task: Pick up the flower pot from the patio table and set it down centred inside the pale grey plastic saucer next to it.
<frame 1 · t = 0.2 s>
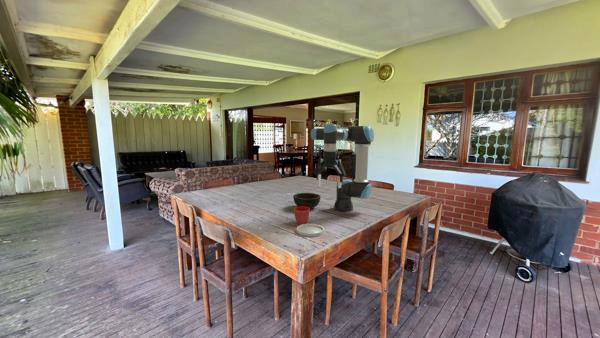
hand: (329, 186, 156), 28 cm above the table, tool pointing down, fingers open, 13 cm apart
saucer: (310, 231, 158), on the table
flower pot: (301, 222, 174), on the table
bowl: (306, 208, 208), on the table
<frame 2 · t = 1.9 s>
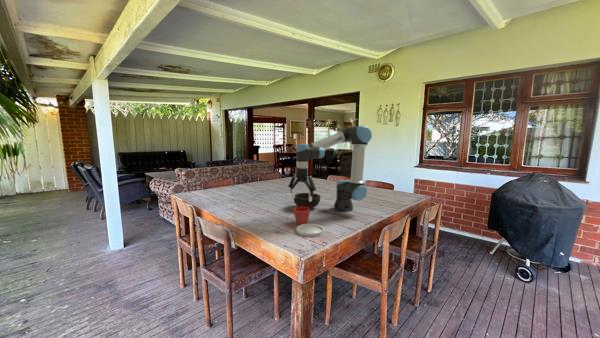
hand: (301, 199, 172), 16 cm above the table, tool pointing down, fingers open, 13 cm apart
nothing on the table moved.
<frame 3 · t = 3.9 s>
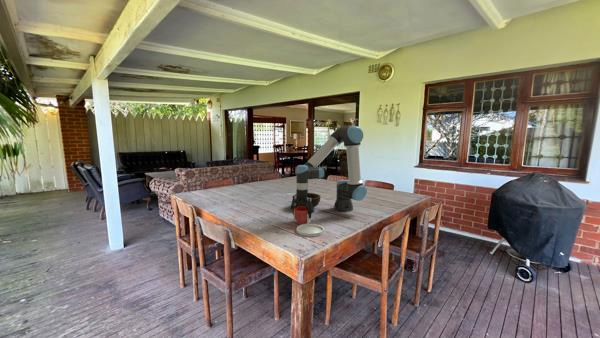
hand: (301, 221, 174), 1 cm above the table, tool pointing down, fingers closed on flower pot, 10 cm apart
flower pot: (301, 222, 174), on the table, touching gripper
everything else where it was.
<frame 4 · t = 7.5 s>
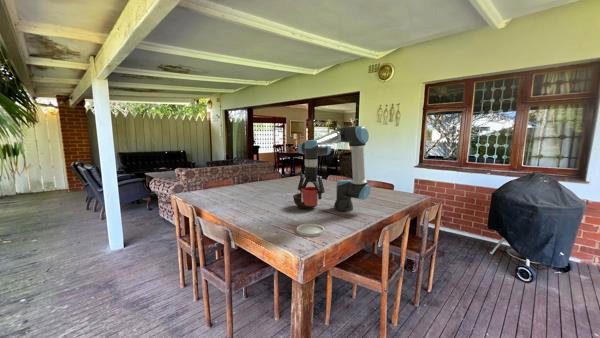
hand: (310, 203, 156), 18 cm above the table, tool pointing down, fingers closed on flower pot, 10 cm apart
flower pot: (310, 204, 156), point 17 cm above the table, touching gripper
everything else where it was.
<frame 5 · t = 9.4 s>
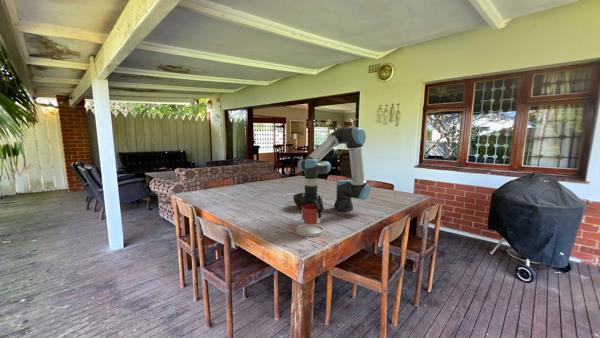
hand: (310, 221, 158), 6 cm above the table, tool pointing down, fingers closed on flower pot, 10 cm apart
flower pot: (310, 222, 158), point 5 cm above the table, touching gripper
everything else where it was.
when the fingers open (3 cm above the table, at t = 11.1 s): flower pot drops 1 cm, resting on saucer.
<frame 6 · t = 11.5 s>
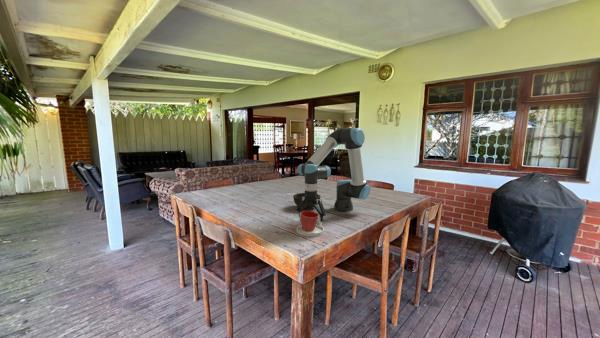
hand: (310, 224, 158), 4 cm above the table, tool pointing down, fingers open, 13 cm apart
flower pot: (307, 229, 160), point 1 cm above the table, touching gripper, saucer
everything else where it was.
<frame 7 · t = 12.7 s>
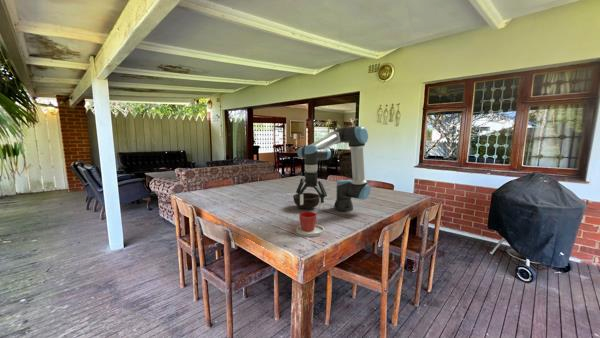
hand: (311, 206, 157), 16 cm above the table, tool pointing down, fingers open, 13 cm apart
flower pot: (307, 229, 160), resting on saucer
everything else where it was.
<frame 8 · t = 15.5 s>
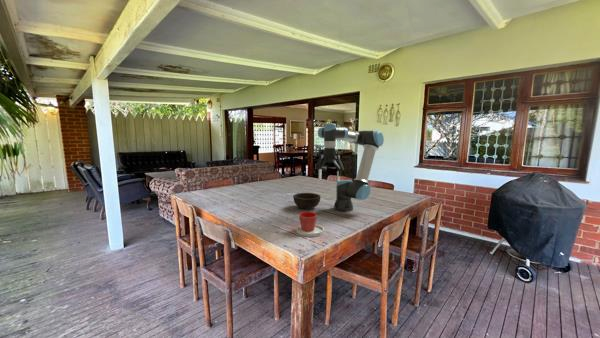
hand: (329, 180, 171), 29 cm above the table, tool pointing down, fingers open, 13 cm apart
nothing on the table moved.
at the end: flower pot 2.0 cm off-centre on the saucer, point 0.4 cm above the saucer's base; flower pot tilted 0°; the gripper is holding nothing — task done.
